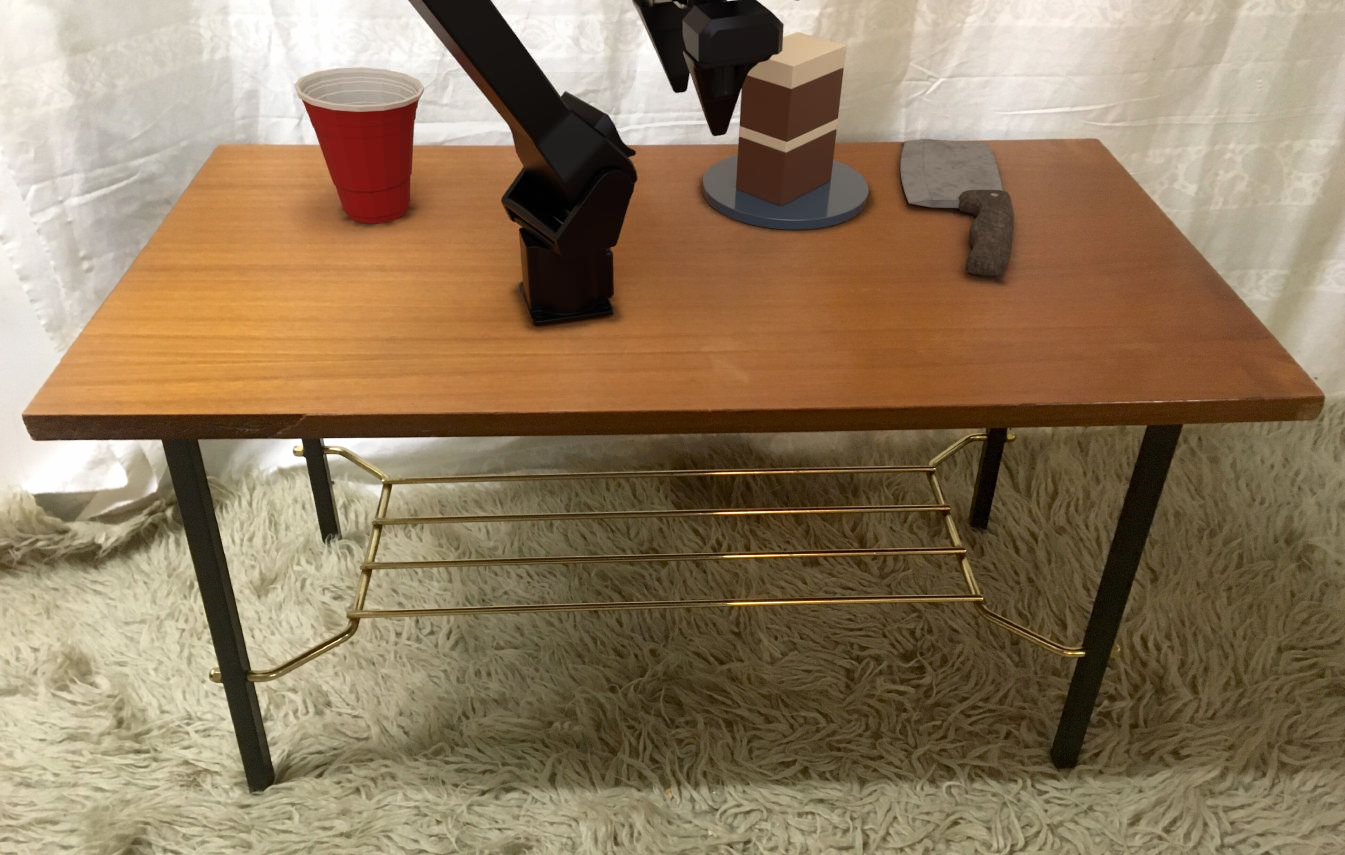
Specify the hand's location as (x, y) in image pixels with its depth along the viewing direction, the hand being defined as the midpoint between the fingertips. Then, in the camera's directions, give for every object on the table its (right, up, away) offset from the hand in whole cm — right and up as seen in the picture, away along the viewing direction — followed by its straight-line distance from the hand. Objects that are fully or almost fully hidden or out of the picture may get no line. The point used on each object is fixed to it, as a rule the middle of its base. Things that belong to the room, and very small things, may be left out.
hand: (698, 112), depth 84 cm
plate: (+9, -2, +19) cm, 21 cm away
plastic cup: (-29, -5, +15) cm, 33 cm away
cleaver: (+25, -4, +18) cm, 31 cm away
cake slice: (+9, -2, +18) cm, 20 cm away
